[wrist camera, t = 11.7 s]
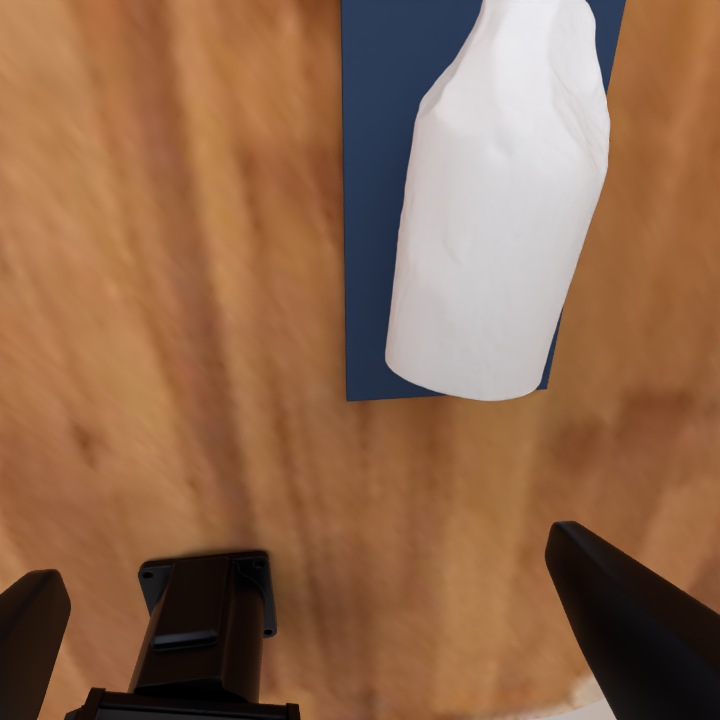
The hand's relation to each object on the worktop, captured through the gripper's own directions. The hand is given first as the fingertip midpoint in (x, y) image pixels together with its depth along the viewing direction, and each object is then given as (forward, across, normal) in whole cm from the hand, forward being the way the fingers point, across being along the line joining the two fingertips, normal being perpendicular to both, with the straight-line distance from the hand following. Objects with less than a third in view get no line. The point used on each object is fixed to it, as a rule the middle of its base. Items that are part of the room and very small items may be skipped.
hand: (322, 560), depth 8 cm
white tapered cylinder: (+12, -6, -6) cm, 14 cm away
